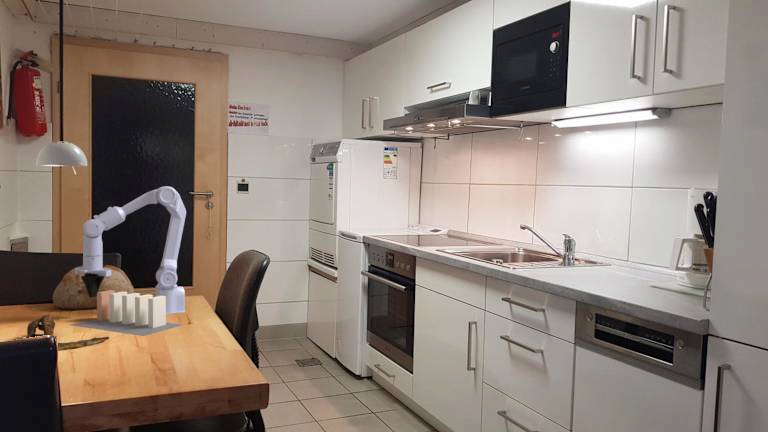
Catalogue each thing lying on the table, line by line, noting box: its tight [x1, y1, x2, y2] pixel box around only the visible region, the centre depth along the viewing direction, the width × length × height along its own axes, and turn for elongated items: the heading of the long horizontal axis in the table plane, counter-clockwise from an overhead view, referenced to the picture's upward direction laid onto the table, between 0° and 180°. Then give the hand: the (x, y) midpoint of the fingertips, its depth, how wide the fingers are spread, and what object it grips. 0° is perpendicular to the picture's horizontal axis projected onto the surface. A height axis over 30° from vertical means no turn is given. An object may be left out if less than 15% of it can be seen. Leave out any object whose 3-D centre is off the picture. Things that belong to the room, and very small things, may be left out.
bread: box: [52, 264, 135, 310], centre depth 211 cm, size 26×23×15 cm
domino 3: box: [122, 292, 141, 324], centre depth 182 cm, size 2×5×9 cm, turn 156°
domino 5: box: [148, 296, 167, 328], centre depth 177 cm, size 2×5×9 cm, turn 156°
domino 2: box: [109, 292, 127, 322], centre depth 184 cm, size 2×5×9 cm, turn 156°
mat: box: [70, 318, 183, 337], centre depth 179 cm, size 31×16×1 cm, turn 66°
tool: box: [25, 314, 110, 351], centre depth 155 cm, size 23×6×30 cm
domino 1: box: [96, 290, 115, 321], centre depth 186 cm, size 2×5×9 cm, turn 157°
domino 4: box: [135, 294, 154, 326], centre depth 180 cm, size 2×5×9 cm, turn 156°
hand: (92, 296), depth 189 cm, fingers closed
